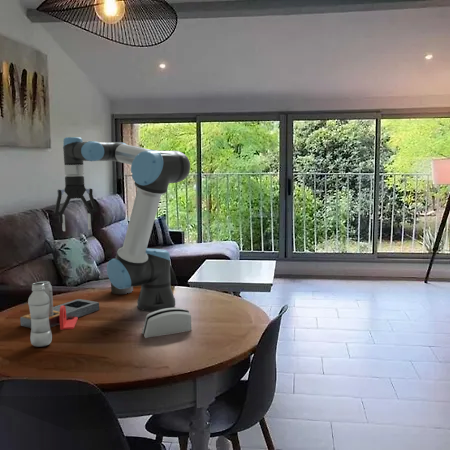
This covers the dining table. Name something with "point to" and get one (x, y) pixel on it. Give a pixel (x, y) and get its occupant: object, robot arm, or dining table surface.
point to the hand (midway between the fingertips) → (76, 230)
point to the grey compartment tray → (72, 310)
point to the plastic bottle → (39, 316)
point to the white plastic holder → (167, 322)
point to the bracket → (66, 323)
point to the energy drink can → (49, 292)
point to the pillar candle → (120, 290)
